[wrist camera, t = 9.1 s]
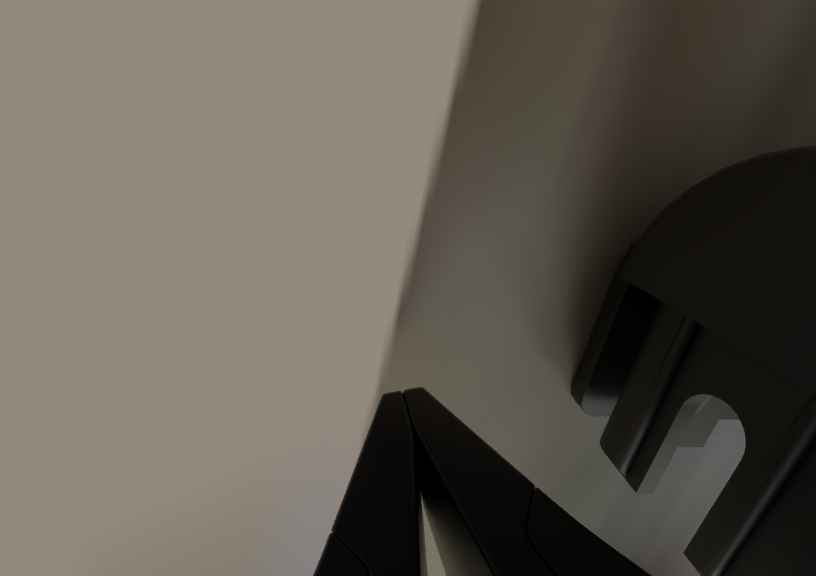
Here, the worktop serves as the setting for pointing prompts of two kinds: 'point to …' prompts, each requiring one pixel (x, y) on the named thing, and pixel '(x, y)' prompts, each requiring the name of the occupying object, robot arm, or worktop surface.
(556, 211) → the worktop surface
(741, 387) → the end cap
